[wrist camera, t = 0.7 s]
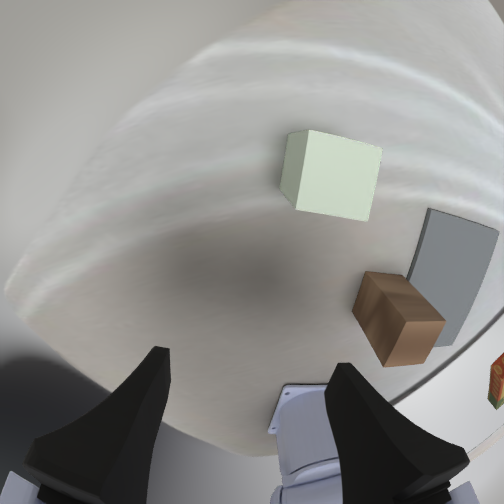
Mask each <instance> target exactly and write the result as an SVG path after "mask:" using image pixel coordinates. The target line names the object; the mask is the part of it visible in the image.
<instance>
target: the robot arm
mask: <svg viewBox="0 0 504 504" xmlns="http://www.w3.org/2000/svg"><path fill="white" fill-rule="evenodd" d="M170 383H171V373H170V350H169V348H164V347H158V346H155V347H153V348H152V349H151V351H150V352H149V353H148V355H147V356H146V357H145V358H144V360H143V361H142V362H141V363H140V364H139V366H138V367H137V368H136V369H135V370H134V371H133V372H132V373H131V375H130V376H129V377H128V378H127V379H126V380H125V381H124V382H123V383H122V384H121V385H120V386H119V387H118V388H117V389H116V390H115V391H114V392H113V393H111V394H110V395H109V396H108V397H107V398H106V399H105V400H103V401H102V402H101V403H100V404H98V405H97V406H96V407H94V408H93V409H91V410H90V411H88V412H87V413H86V414H84V415H83V416H81V417H80V418H78V419H76V420H74V421H73V422H71V423H69V424H67V425H65V426H64V427H62V428H60V429H58V430H55V431H53V432H51V433H49V434H46V435H43V436H41V437H38V438H35V439H34V441H33V443H32V444H31V446H30V447H29V450H28V452H27V454H26V456H25V459H24V461H23V467H24V468H25V469H26V470H27V471H28V472H29V473H30V474H31V475H32V476H33V477H34V478H36V479H37V480H38V481H39V482H40V483H41V486H40V488H38V487H37V486H35V485H33V484H32V483H30V482H28V481H27V480H25V479H23V478H22V477H20V476H19V475H17V474H15V473H14V472H12V471H10V473H9V475H8V477H7V480H6V483H5V486H4V488H3V490H2V493H1V496H0V504H146V498H147V489H148V480H149V471H150V464H151V458H152V453H153V448H154V443H155V440H156V436H157V433H158V430H159V426H160V423H161V420H162V416H163V413H164V410H165V407H166V403H167V399H168V394H169V388H170ZM268 433H269V434H276V438H277V447H278V456H279V465H280V472H281V475H282V483H283V485H281V486H278V487H277V488H276V489H275V491H274V492H273V494H272V496H271V500H270V504H479V501H478V499H477V496H476V494H475V492H474V489H473V487H472V485H471V483H470V481H468V482H466V483H464V484H462V485H460V486H459V487H457V488H455V489H453V490H452V491H450V492H449V491H448V489H447V488H449V487H450V486H451V484H450V482H449V480H450V479H451V478H453V477H454V476H456V475H457V474H458V473H459V472H461V471H462V470H463V469H464V468H465V467H466V466H467V465H468V464H469V462H470V460H469V458H468V456H467V454H466V452H465V450H464V448H462V447H460V446H457V445H454V444H451V443H449V442H446V441H444V440H442V439H440V438H438V437H435V436H434V435H432V434H430V433H428V432H426V431H425V430H423V429H422V428H420V427H418V426H417V425H415V424H414V423H413V422H411V421H410V420H409V419H407V418H406V417H405V416H403V415H402V414H401V413H399V412H398V411H397V410H396V409H395V408H394V407H393V406H392V405H391V404H389V403H388V402H387V401H386V400H385V399H384V398H383V397H382V396H381V395H380V394H379V393H378V392H377V391H376V390H375V389H374V388H373V387H372V386H371V384H370V383H369V382H368V381H367V380H366V379H365V378H364V377H363V376H362V375H361V374H360V372H359V371H358V370H357V369H356V368H355V367H354V366H353V365H352V364H351V363H338V364H337V366H336V368H335V370H334V373H333V375H332V377H331V379H330V381H329V383H328V385H286V386H284V388H283V390H282V393H281V396H280V398H279V401H278V404H277V407H276V410H275V412H274V415H273V418H272V420H271V423H270V426H269V428H268Z"/></svg>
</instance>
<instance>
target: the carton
mask: <svg viewBox="0 0 504 504" xmlns="http://www.w3.org/2000/svg"><path fill="white" fill-rule="evenodd" d="M488 400H489V401H490V403H491V404H492V405H493V406H494V408H495V409H496V410H497V409H498V408H499V407H500V406H501V405H503V404H504V353H503V354H502V355H501V356H500V357H499V358H498V359H497V360H496V361H495V362H494V363H493V364H492V365H491V372H490V384H489V393H488Z"/></svg>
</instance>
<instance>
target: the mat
mask: <svg viewBox="0 0 504 504" xmlns="http://www.w3.org/2000/svg"><path fill="white" fill-rule="evenodd" d="M498 235H499V231H497V230H495V229H492V228H489V227H486V226H484V225H481V224H478V223H475V222H472V221H469V220H466V219H463V218H459V217H456V216H453V215H450V214H447V213H443V212H440V211H437V210H433V209H430V208H428V211H427V215H426V219H425V222H424V226H423V230H422V233H421V237H420V240H419V243H418V246H417V250H416V253H415V256H414V259H413V262H412V265H411V268H410V271H409V274H408V276H407V280H408V281H409V282H410V283H411V284H412V285H413V286H414V287H415V288H416V289H417V290H418V291H419V292H420V293H421V294H422V296H423V297H424V298H425V299H426V300H427V301H428V302H429V303H430V304H431V305H432V306H433V307H434V308H435V309H436V310H437V311H438V312H439V313H440V314H441V315H442V317H443V318H444V319H445V320H446V323H445V325H444V327H443V329H442V331H441V333H440V335H439V337H438V339H437V341H436V343H435V344H434V346H433V347H441V346H450V345H452V344H453V342H454V341H455V339H456V337H457V335H458V333H459V331H460V329H461V327H462V326H463V324H464V322H465V320H466V318H467V315H468V313H469V311H470V309H471V307H472V305H473V303H474V300H475V298H476V296H477V294H478V291H479V289H480V287H481V284H482V282H483V279H484V277H485V274H486V271H487V269H488V266H489V263H490V260H491V257H492V254H493V251H494V248H495V245H496V242H497V239H498Z"/></svg>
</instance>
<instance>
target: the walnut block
mask: <svg viewBox="0 0 504 504" xmlns="http://www.w3.org/2000/svg"><path fill="white" fill-rule="evenodd" d="M352 312H353V314H354V316H355V317H356V319H357V321H358V323H359V324H360V326H361V328H362V330H363V331H364V333H365V335H366V337H367V339H368V340H369V342H370V344H371V346H372V348H373V349H374V351H375V353H376V355H377V357H378V359H379V360H380V362H381V364H382V366H383V367H394V366H405V365H415V364H423V363H424V362H425V360H426V358H427V357H428V355H429V353H430V351H431V350H432V348H433V346H434V344H435V343H436V341H437V339H438V337H439V335H440V333H441V331H442V329H443V327H444V325H445V323H446V320H445V319H444V318H443V317H442V315H441V314H440V313H439V312H438V311H437V310H436V309H435V308H434V307H433V306H432V305H431V304H430V303H429V302H428V301H427V300H426V299H425V298H424V297H423V296H422V294H421V293H420V292H419V291H418V290H417V289H416V288H415V287H414V286H413V285H412V284H411V283H410V282H409V281H408V280H407V279H406V278H405V277H403V276H402V275H395V274H386V273H377V272H368V271H365V274H364V277H363V280H362V284H361V287H360V290H359V292H358V295H357V298H356V301H355V304H354V307H353V310H352Z"/></svg>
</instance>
